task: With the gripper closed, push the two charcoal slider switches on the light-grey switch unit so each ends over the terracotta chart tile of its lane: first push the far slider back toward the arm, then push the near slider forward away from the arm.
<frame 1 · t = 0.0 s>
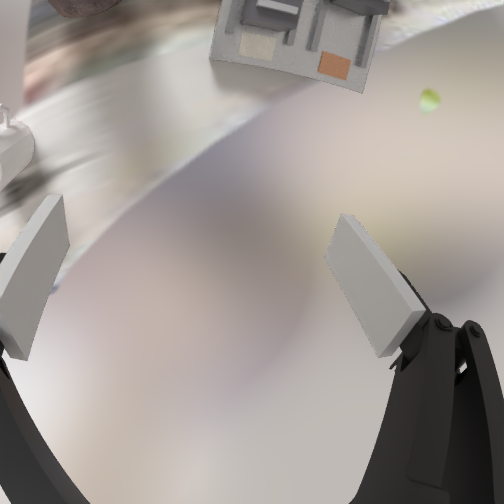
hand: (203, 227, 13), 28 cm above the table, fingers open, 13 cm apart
mug: (16, 132, 30), on the table
switch unit: (301, 5, 28), on the table
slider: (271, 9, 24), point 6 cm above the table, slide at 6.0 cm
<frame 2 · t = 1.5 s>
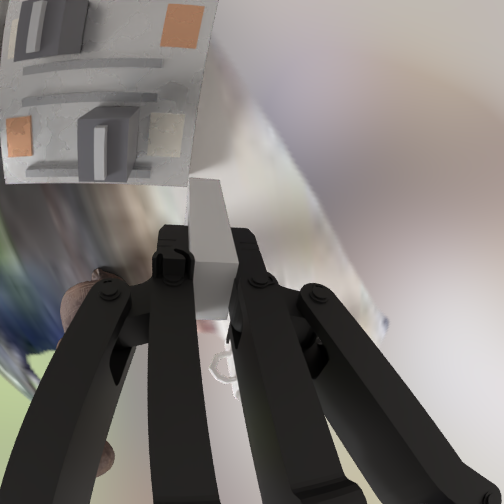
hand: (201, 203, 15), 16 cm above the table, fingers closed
mug: (238, 337, 49), on the table
switch unit: (97, 76, 22), on the table
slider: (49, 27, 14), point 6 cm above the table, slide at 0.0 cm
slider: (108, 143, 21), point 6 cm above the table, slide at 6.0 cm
clay figurine: (105, 284, 37), on the table
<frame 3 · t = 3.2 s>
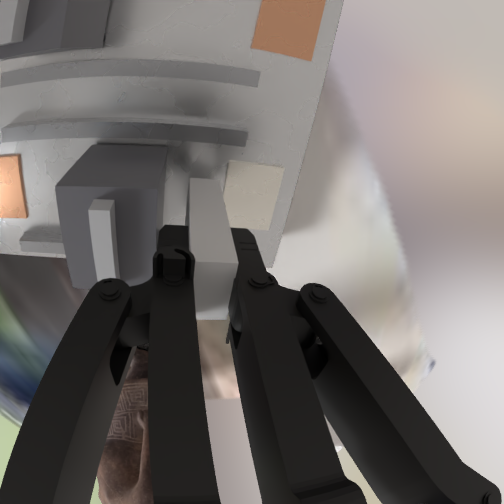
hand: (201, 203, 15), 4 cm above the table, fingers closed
switch unit: (129, 89, 14), on the table
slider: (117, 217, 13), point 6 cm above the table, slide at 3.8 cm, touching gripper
clay figurine: (139, 359, 29), on the table
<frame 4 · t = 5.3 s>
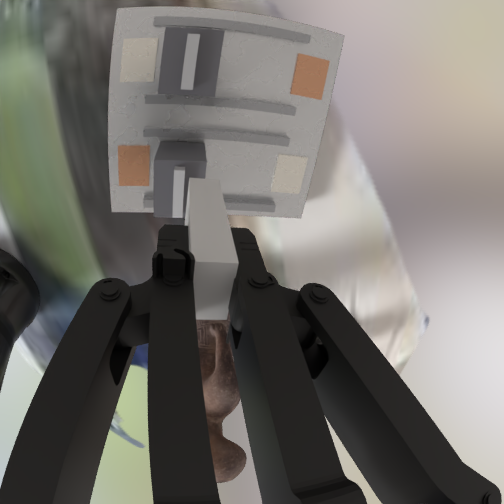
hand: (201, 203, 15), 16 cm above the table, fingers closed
switch unit: (216, 110, 27), on the table
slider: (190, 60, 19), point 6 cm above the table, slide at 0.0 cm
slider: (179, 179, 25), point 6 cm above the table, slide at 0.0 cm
clay figurine: (199, 301, 42), on the table
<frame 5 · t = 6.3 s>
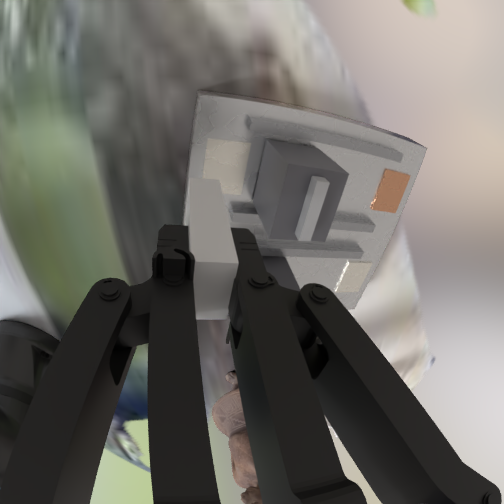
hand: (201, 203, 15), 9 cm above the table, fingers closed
switch unit: (292, 214, 28), on the table
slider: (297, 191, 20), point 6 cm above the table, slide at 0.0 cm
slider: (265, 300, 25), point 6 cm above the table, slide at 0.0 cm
clay figurine: (243, 369, 43), on the table
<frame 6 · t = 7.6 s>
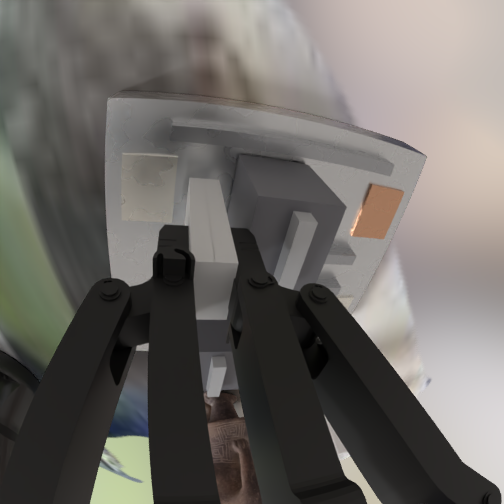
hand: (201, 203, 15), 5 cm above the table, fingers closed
mug: (316, 412, 49), on the table
switch unit: (251, 240, 23), on the table
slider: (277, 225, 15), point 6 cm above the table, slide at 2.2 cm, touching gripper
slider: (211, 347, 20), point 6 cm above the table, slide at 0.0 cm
clay figurine: (213, 397, 38), on the table
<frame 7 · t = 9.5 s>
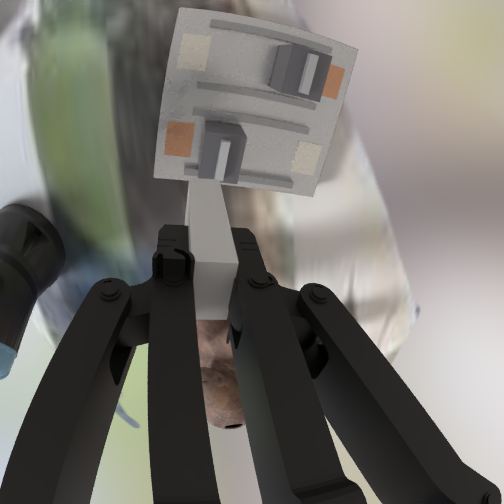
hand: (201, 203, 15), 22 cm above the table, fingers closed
switch unit: (250, 101, 33), on the table
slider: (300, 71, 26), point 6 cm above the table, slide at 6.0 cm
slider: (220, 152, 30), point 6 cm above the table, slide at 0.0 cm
clay figurine: (215, 270, 48), on the table
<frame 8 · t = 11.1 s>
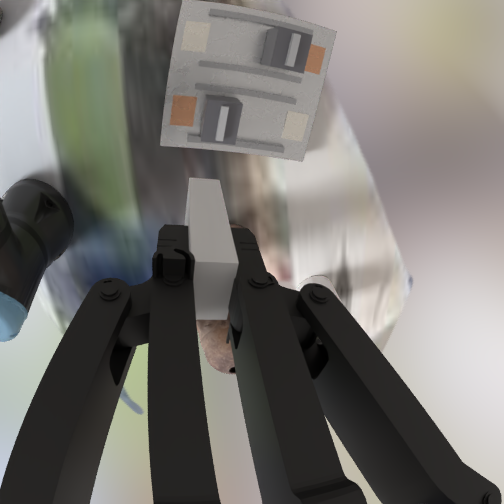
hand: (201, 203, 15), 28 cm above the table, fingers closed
mug: (305, 286, 63), on the table
switch unit: (244, 79, 36), on the table
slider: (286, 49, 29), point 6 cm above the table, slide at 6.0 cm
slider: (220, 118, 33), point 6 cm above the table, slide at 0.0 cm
clay figurine: (215, 236, 51), on the table
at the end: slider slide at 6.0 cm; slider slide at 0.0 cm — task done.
